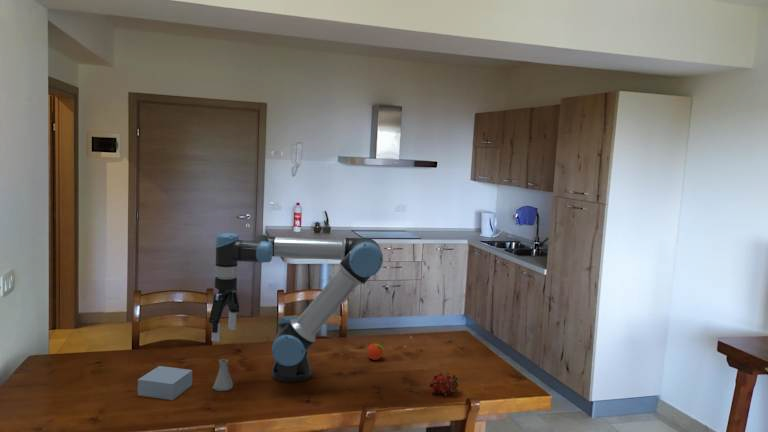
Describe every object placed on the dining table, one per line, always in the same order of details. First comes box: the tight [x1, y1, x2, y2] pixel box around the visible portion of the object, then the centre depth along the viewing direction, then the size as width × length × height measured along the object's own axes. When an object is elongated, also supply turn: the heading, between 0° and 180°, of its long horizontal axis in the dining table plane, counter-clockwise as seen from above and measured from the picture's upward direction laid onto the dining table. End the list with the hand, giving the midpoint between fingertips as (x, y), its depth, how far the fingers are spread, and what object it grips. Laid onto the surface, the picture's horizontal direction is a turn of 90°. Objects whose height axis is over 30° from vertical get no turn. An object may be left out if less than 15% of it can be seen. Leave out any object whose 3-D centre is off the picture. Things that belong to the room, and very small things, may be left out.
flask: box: [211, 359, 234, 392], centre depth 199 cm, size 7×7×10 cm
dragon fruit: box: [429, 371, 459, 396], centre depth 205 cm, size 8×8×12 cm
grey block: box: [137, 365, 193, 401], centre depth 194 cm, size 13×13×6 cm
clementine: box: [366, 343, 385, 361], centre depth 236 cm, size 8×7×7 cm
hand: (224, 335), depth 198 cm, fingers open, 13 cm apart
